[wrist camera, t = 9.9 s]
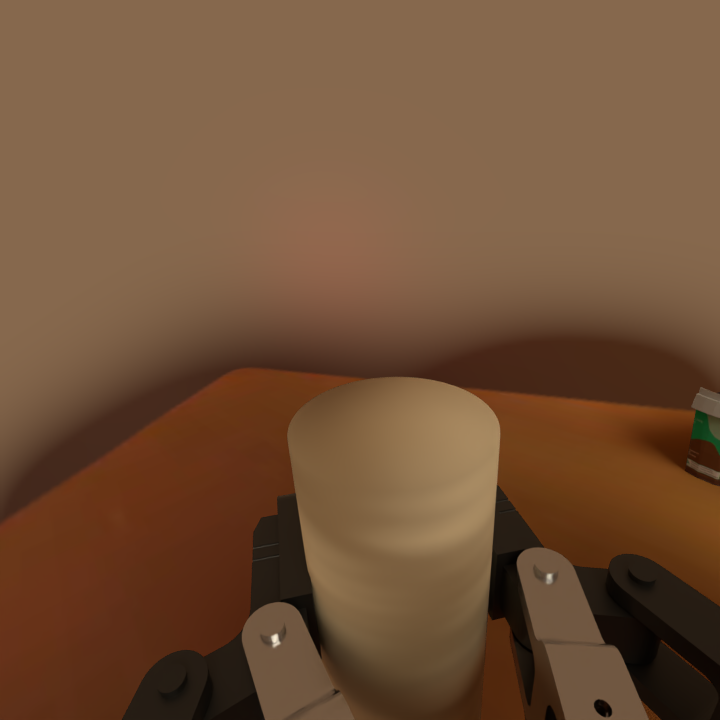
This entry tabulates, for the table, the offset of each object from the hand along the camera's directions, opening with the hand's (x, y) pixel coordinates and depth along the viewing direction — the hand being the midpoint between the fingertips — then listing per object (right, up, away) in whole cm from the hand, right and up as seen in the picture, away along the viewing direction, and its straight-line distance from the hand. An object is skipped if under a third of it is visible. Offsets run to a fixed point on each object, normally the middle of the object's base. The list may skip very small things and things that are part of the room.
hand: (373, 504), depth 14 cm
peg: (+1, -8, +1) cm, 8 cm away
